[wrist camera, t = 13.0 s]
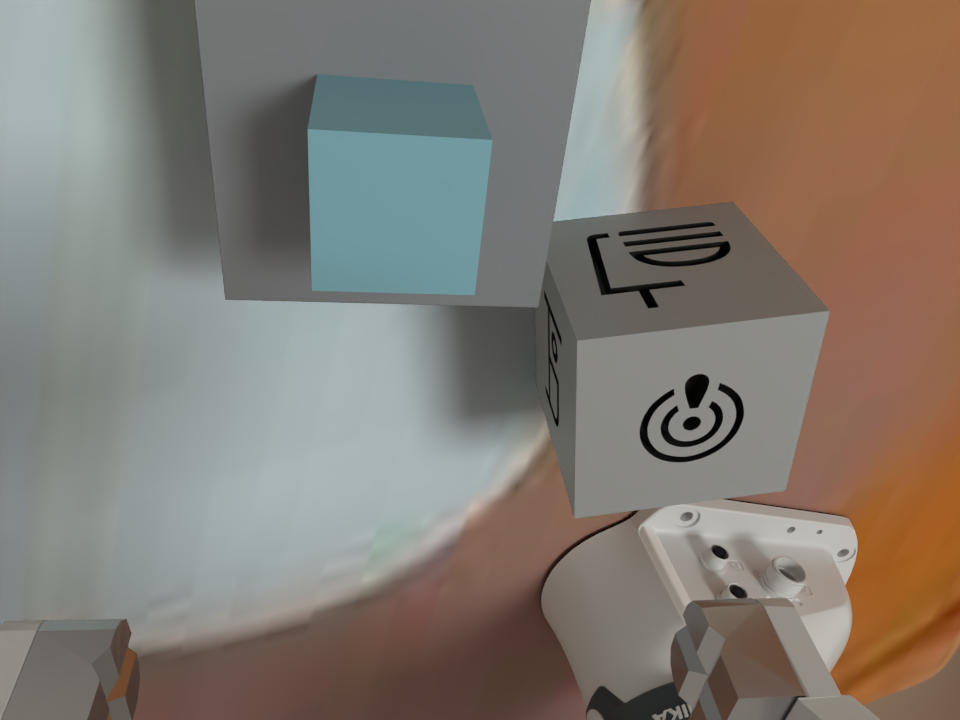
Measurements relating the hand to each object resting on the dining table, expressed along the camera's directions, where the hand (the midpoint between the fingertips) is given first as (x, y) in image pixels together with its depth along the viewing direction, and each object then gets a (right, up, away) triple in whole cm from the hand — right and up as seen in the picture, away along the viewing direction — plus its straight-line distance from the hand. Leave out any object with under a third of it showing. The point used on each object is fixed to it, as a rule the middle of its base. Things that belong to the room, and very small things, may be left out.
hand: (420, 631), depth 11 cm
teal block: (-2, +11, +15) cm, 19 cm away
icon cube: (+9, +7, +30) cm, 32 cm away
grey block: (-3, +16, +21) cm, 27 cm away
